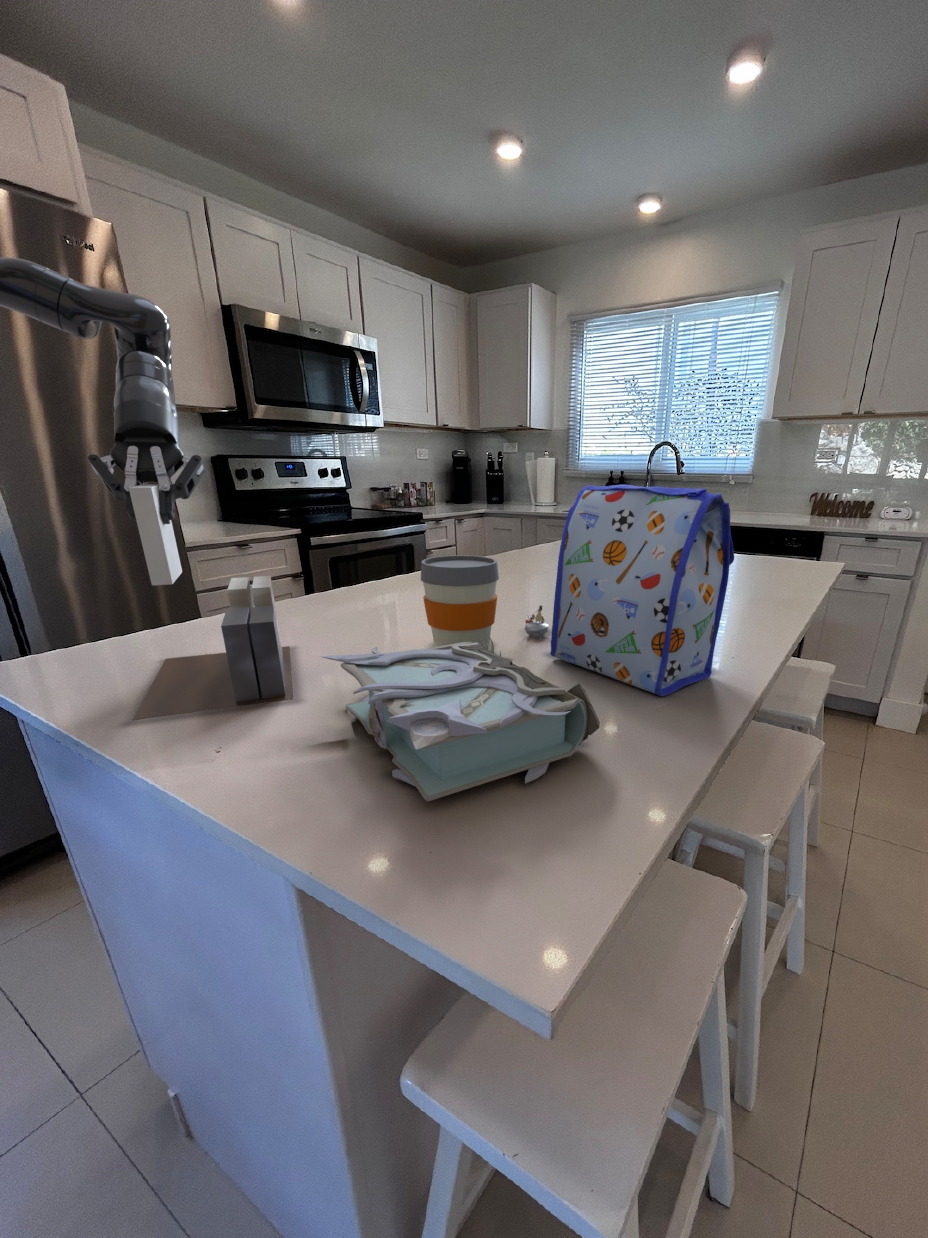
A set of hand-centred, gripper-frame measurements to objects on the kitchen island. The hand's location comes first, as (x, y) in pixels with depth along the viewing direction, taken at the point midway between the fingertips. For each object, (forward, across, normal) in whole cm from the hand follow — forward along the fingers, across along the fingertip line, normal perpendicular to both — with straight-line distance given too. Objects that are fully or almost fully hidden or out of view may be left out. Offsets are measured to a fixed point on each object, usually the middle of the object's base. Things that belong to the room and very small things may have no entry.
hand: (151, 520), depth 73 cm
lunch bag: (+28, -63, -4) cm, 69 cm away
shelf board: (+18, -5, -14) cm, 23 cm away
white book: (+4, 0, -7) cm, 8 cm away
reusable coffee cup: (+16, -41, -16) cm, 47 cm away
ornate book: (+37, -31, +5) cm, 49 cm away
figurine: (+14, -56, -18) cm, 61 cm away
